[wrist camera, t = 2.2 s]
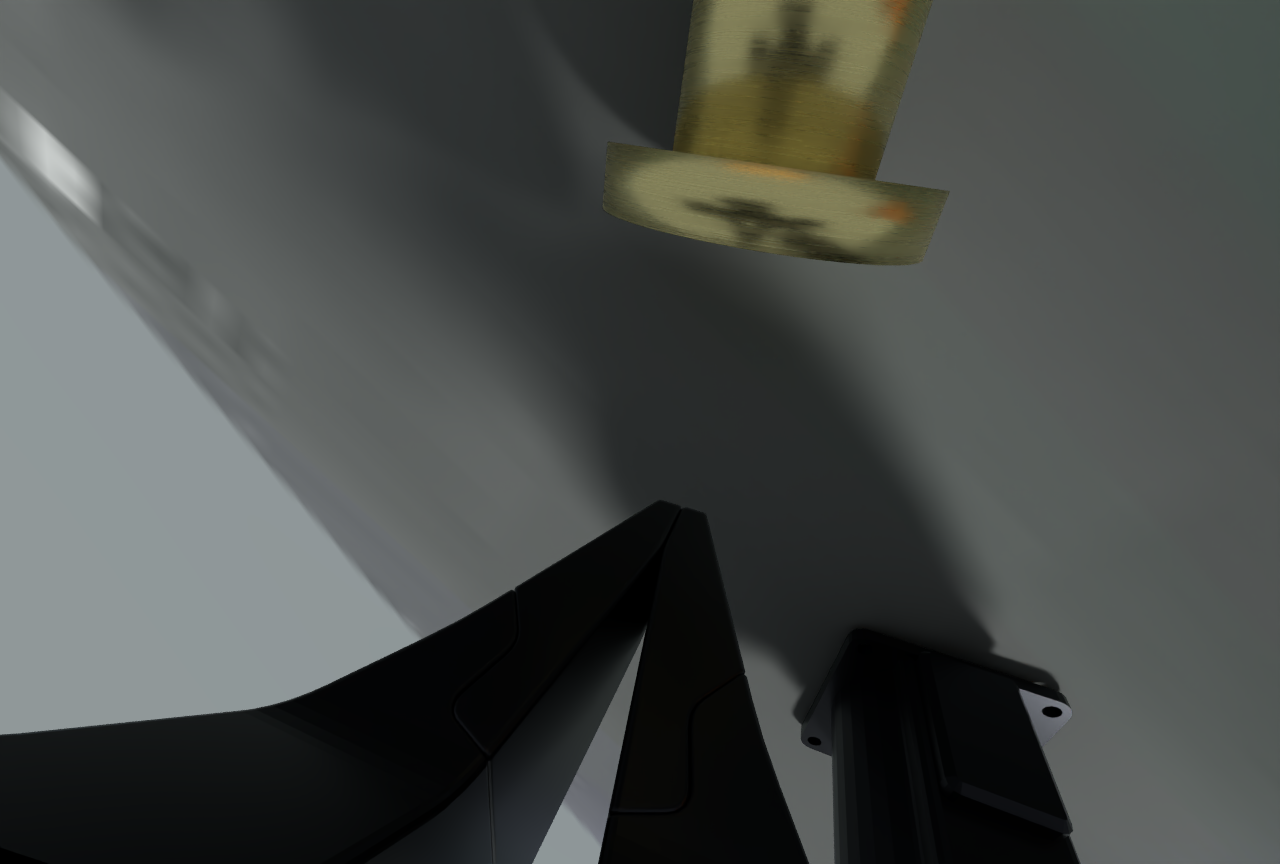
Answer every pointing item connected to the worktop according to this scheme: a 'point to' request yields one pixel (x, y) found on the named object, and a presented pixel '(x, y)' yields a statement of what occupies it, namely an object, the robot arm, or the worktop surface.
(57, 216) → the worktop surface
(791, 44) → the pin
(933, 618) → the worktop surface
